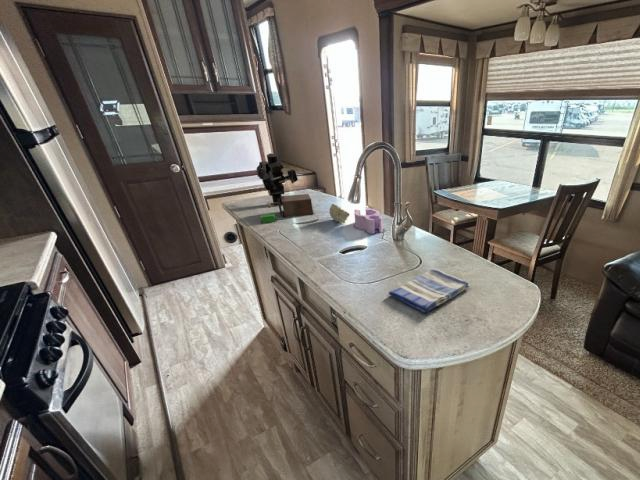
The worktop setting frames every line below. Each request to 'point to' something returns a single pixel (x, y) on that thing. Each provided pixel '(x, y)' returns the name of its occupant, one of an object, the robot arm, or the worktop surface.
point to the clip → (369, 220)
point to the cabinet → (297, 205)
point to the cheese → (338, 214)
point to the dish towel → (429, 290)
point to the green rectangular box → (268, 218)
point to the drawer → (276, 205)
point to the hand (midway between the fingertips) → (285, 185)
